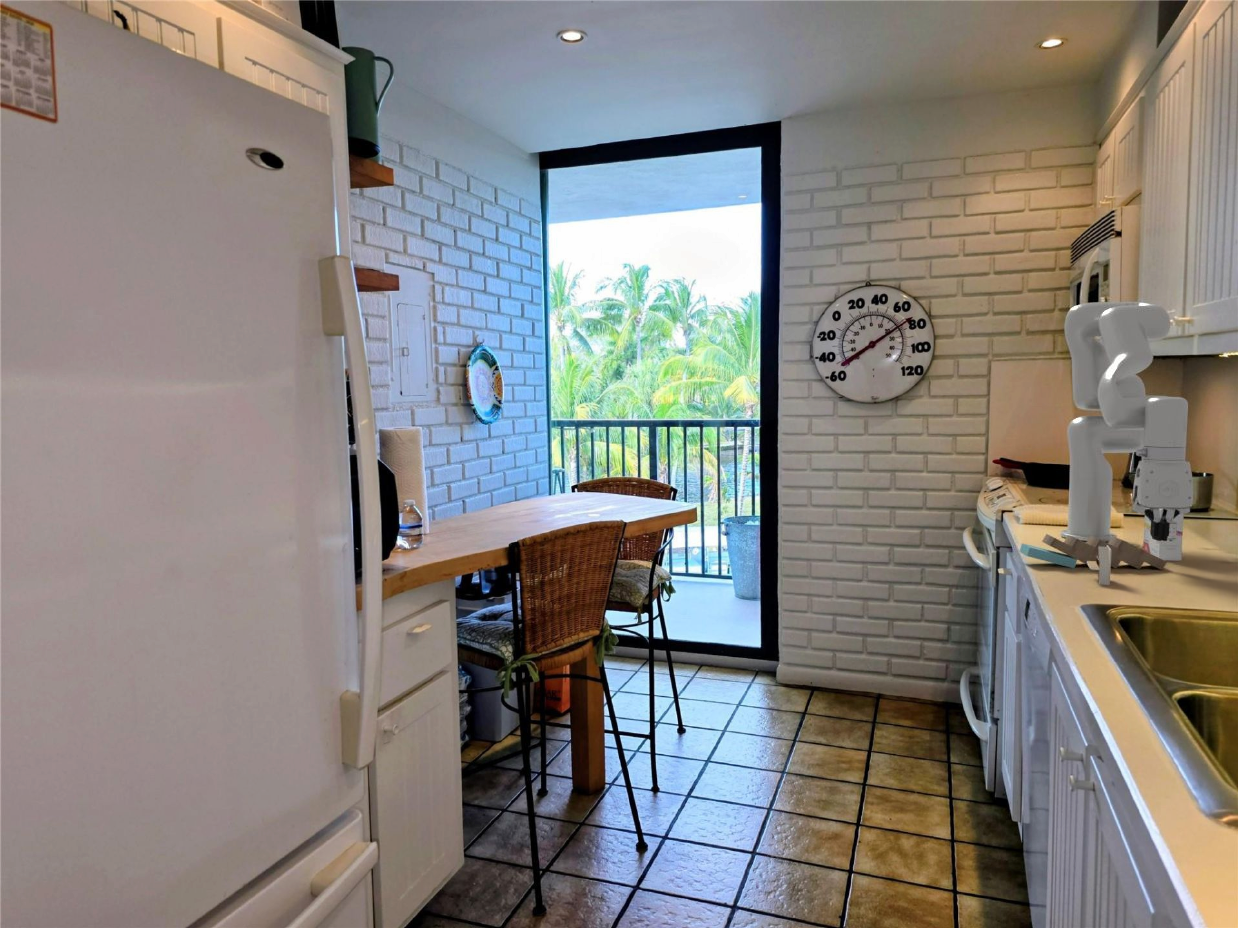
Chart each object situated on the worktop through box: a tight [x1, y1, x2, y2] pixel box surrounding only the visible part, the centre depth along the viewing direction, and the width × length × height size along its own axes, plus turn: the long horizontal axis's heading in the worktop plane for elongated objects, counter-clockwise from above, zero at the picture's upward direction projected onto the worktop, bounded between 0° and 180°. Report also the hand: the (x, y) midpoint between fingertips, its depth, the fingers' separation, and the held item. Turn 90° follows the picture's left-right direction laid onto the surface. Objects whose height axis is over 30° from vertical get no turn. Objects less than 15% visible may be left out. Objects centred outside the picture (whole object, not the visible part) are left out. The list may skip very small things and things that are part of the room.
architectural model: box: [1086, 545, 1112, 586], centre depth 162 cm, size 3×7×7 cm, turn 155°
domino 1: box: [1019, 542, 1078, 569], centre depth 177 cm, size 5×2×10 cm
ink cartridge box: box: [1142, 508, 1185, 562], centre depth 184 cm, size 9×5×15 cm, turn 168°
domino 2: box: [1041, 533, 1096, 566], centre depth 176 cm, size 5×2×10 cm
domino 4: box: [1085, 536, 1145, 570], centre depth 175 cm, size 5×2×10 cm
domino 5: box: [1107, 536, 1168, 571], centre depth 174 cm, size 5×2×10 cm
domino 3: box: [1064, 535, 1122, 569], centre depth 176 cm, size 5×2×10 cm
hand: (1159, 539), depth 173 cm, fingers closed
